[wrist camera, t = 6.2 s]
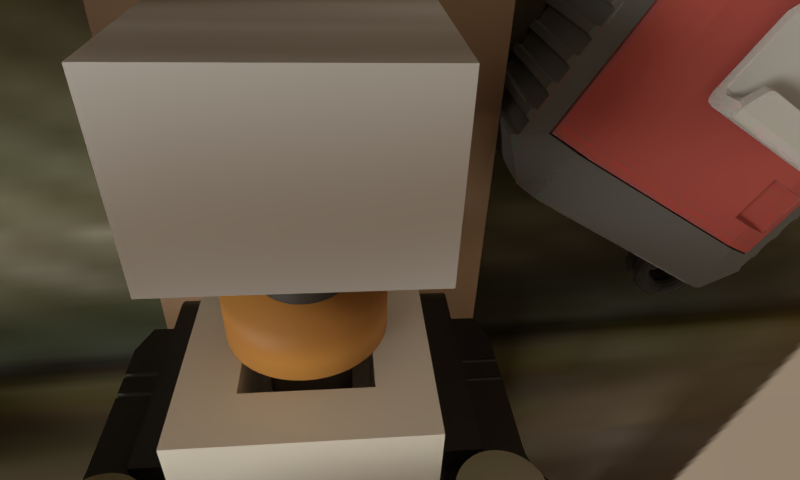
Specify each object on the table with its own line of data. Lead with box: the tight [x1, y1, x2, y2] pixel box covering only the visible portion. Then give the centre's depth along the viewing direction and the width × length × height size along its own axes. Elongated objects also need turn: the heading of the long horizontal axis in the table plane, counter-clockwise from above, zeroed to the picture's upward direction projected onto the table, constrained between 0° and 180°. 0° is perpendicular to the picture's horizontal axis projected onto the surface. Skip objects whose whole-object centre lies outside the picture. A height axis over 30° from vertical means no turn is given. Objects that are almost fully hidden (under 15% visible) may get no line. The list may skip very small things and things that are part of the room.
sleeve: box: [156, 290, 445, 480], centre depth 9 cm, size 4×3×3 cm
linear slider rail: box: [62, 0, 516, 392], centre depth 12 cm, size 17×7×7 cm, turn 178°
